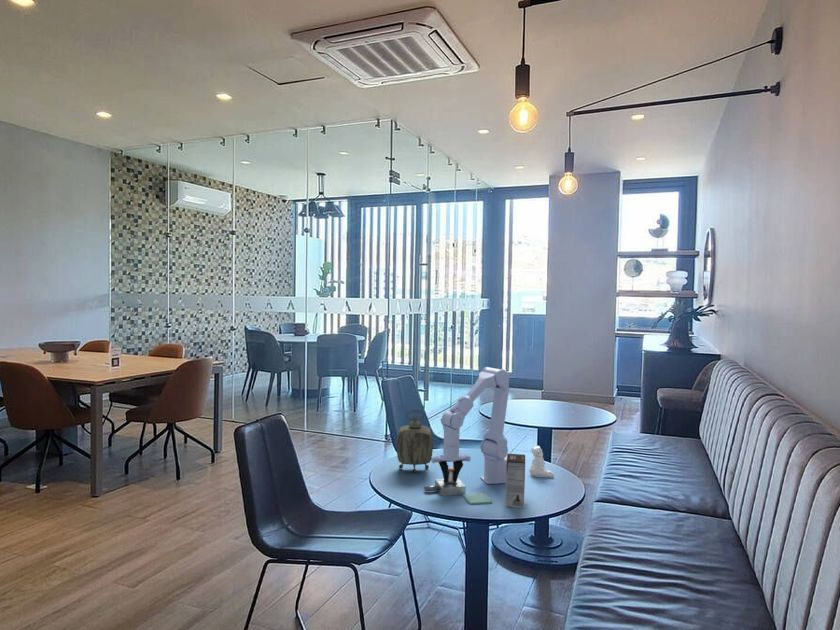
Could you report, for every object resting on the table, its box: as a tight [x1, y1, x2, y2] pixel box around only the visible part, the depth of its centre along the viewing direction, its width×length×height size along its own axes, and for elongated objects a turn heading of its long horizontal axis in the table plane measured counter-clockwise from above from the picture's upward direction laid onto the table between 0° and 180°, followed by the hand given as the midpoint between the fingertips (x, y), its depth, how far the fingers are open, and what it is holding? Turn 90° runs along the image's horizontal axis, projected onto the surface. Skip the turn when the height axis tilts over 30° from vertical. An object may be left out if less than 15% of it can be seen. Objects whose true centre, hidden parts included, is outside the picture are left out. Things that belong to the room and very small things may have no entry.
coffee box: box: [505, 453, 526, 509], centre depth 189 cm, size 9×6×16 cm
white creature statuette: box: [528, 445, 555, 479], centre depth 220 cm, size 10×9×12 cm
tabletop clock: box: [396, 409, 434, 474], centre depth 221 cm, size 14×9×25 cm, turn 92°
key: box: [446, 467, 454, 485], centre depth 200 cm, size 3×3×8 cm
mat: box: [462, 492, 493, 506], centre depth 191 cm, size 8×8×1 cm
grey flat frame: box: [423, 477, 467, 497], centre depth 199 cm, size 14×9×3 cm, turn 104°
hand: (450, 481), depth 199 cm, fingers closed on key, 3 cm apart
